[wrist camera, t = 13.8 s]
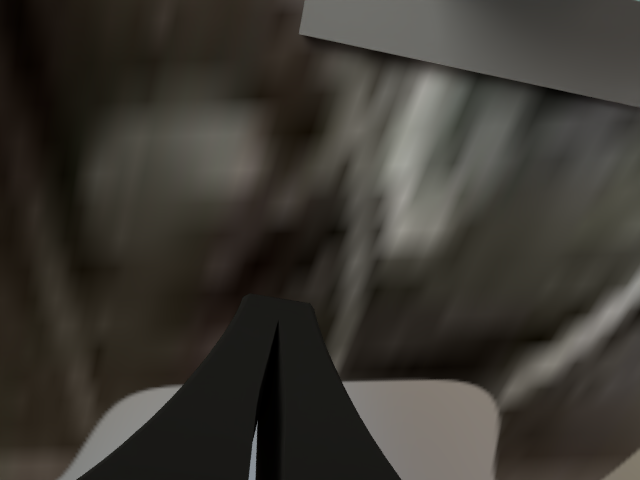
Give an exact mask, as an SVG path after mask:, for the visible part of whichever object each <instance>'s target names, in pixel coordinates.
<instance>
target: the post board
mask: <svg viewBox="0 0 640 480" xmlns="http://www.w3.org/2000/svg"><path fill="white" fill-rule="evenodd" d="M299 34H301V35H306V36H311V37H315V38H320V39H325V40H329V41H334V42H339V43H343V44H348V45H353V46H357V47H362V48H366V49H371V50H376V51H380V52H385V53H390V54H394V55H399V56H404V57H408V58H413V59H417V60H422V61H427V62H431V63H436V64H441V65H445V66H450V67H455V68H459V69H464V70H468V71H473V72H478V73H482V74H487V75H492V76H496V77H501V78H506V79H510V80H515V81H519V82H524V83H529V84H533V85H538V86H543V87H547V88H552V89H557V90H561V91H566V92H570V93H575V94H580V95H584V96H589V97H594V98H598V99H603V100H608V101H612V102H617V103H621V104H626V105H631V106H635V107H640V1H636V0H305V3H304V9H303V14H302V20H301V25H300V31H299Z"/></svg>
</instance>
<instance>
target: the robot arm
mask: <svg viewBox="0 0 640 480" xmlns="http://www.w3.org/2000/svg"><path fill="white" fill-rule="evenodd" d="M257 421H258V426H257V453H256V454H257V455H256V480H401V478H400V477H399V476H398V474H397V473H396V472H395V470H394V469H393V467H392V466H391V464H390V463H389V462H388V460H387V459H386V458H385V456H384V455H383V453H382V451H381V450H380V449H379V447H378V445H377V444H376V442H375V441H374V439H373V438H372V436H371V434H370V433H369V431H368V429H367V428H366V426H365V424H364V423H363V421H362V419H361V418H360V416H359V414H358V412H357V411H356V408H355V407H354V405H353V403H352V401H351V399H350V398H349V396H348V394H347V392H346V390H345V388H344V386H343V384H342V381H341V379H340V377H339V375H338V373H337V371H336V368H335V366H334V364H333V362H332V360H331V357H330V355H329V352H328V350H327V347H326V345H325V342H324V340H323V337H322V334H321V331H320V329H319V326H318V322H317V319H316V316H315V312H314V309H313V307H312V306H311V304H310V303H304V302H298V301H292V300H286V299H280V298H274V297H267V296H261V295H255V294H248V295H246V296H244V297H243V298H242V301H241V304H240V306H239V308H238V310H237V312H236V314H235V316H234V318H233V320H232V321H231V323H230V324H229V326H228V328H227V329H226V331H225V332H224V334H223V335H222V337H221V338H220V339H219V341H218V342H217V344H216V345H215V346H214V348H213V349H212V350H211V352H210V353H209V355H208V356H207V357H206V359H205V360H204V361H203V362H202V363H201V365H200V366H199V367H198V368H197V369H196V371H195V372H194V373H193V374H192V375H191V376H190V378H189V379H188V380H187V381H186V382H185V384H184V385H183V386H182V387H181V388H180V389H179V390H178V391H177V393H176V394H175V395H174V396H173V397H172V398H171V399H170V400H169V401H168V402H167V403H166V404H165V405H164V406H163V407H162V408H161V409H160V410H159V411H158V412H157V413H156V414H155V415H154V416H153V417H152V418H151V419H150V420H149V421H148V422H147V423H145V424H144V425H143V426H142V427H141V428H140V429H139V430H138V431H136V432H135V433H134V434H133V435H132V436H131V437H130V438H129V439H128V440H126V441H125V442H124V443H123V444H122V445H121V446H119V448H117V449H116V450H115V451H113V452H112V453H111V454H110V455H109V456H107V457H106V458H105V459H104V460H102V461H101V462H100V463H98V464H97V465H96V466H95V467H93V468H92V469H90V470H89V471H88V472H86V473H85V474H84V475H82V476H81V477H80V478H78V479H77V480H248V478H249V469H250V460H251V451H252V442H253V438H254V434H255V430H256V425H257Z"/></svg>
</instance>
